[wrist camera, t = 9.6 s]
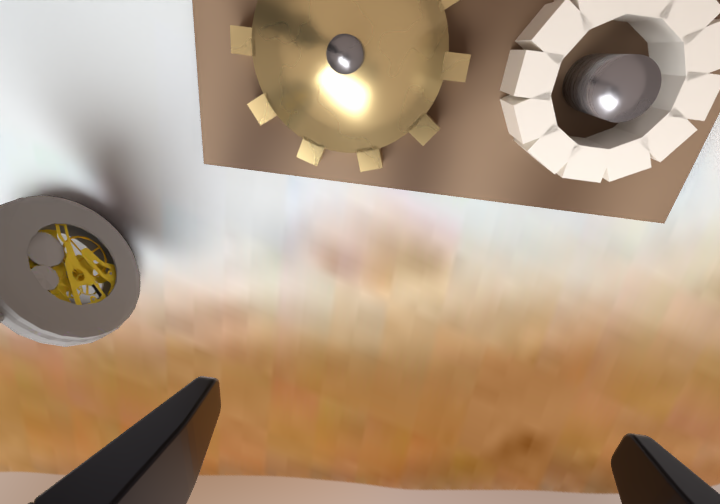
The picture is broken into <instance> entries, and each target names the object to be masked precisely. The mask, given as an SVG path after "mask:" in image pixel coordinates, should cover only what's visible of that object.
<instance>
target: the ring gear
mask: <svg viewBox="0 0 720 504" xmlns="http://www.w3.org/2000/svg"><path fill="white" fill-rule="evenodd" d="M719 14H720V4H719V3H718V2H717V0H554V2H551V3H548V4H545V5H544V6H543V7H542V9H541V10H540V11H539V12H538V13H537V15H536V16H535V17H534V18H533V19H532V21H531V22H530V23H529V24H528V26H527V27H526V28H525V29H524V30H523V32H522V33H521V34H520V35H519V36H518V38H517V39H516V40H515V42H517V43H518V44H519V45H520V46H521V47H522V48H523V49H524V50H510V53H509V57H508V61H507V64H506V68H505V72H504V76H503V80H502V84H501V88H500V91H502V92H505V93H507V94H510V95H508V96H506V97H503V98H501V99H500V102H501V106H502V109H503V113H504V117H505V121H506V124H507V128H508V132H509V134H510V135H512V136H513V137H514V139H513V140H514V141H515V142H516V143H517V144H518V145H520V146H521V147H522V148H523V149H524V150H525V151H527V152H528V153H529V154H530V155H531V156H532V157H533V158H535V159H536V160H537V161H538V162H539V163H541V164H542V165H543V166H545V167H546V168H547V169H548V170H550V171H551V172H552V173H553V174H556V173H557V174H558V175H559V176H561V177H562V178H568V179H575V180H583V181H590V182H598V183H601V180H602V178H604V179H606V180H607V181H609V182H610V181H613V180H616V179H619V178H622V177H625V176H628V175H631V174H634V173H637V172H640V171H643V170H646V169H648V168H651V159H650V158H652V159H654V160H656V161H659V162H661V161H662V160H664V159H665V158H666V157H667V156H668V155H669V154H670V153H672V152H673V151H674V150H675V149H676V148H677V147H678V146H680V145H681V144H682V143H683V142H684V141H685V140H686V139H688V138H689V137H690V136H691V135H692V134H693V133H694V132H696V131H697V129H696V128H695V127H694V126H693V125H692V124H691V123H690V122H689V121H688V120H687V119H692V120H700V121H705V119H706V117H707V115H708V113H709V111H710V109H711V107H712V105H713V102H714V100H715V98H716V96H717V94H718V92H719V90H720V75H717V74H709V73H710V72H713V71H716V70H718V69H720V19H714V18H715V17H716V16H718V15H719ZM713 19H714V20H713ZM611 20H616V21H624V22H628V23H629V24H630V25H631V26H632V27H633V28H634V29H635V30H636V31H637V32H638V33H639V34H640V35H641V36H642V37H643V38H644V40H645V41H646V42H647V43H648V52H649V57H650V58H651V59H653V60H654V61H655V62H656V63H657V65H658V67H659V69H660V71H661V79H662V80H661V87H660V91H659V93H658V95H657V98H656V99H655V101H654V102H653V104H652V105H651V106H650V107H649V108H648V109H647V110H646V111H645V112H644V113H643V114H641V115H640V116H638V117H636V118H634V119H632V120H629V121H626V122H619V123H618V124H617V125H616V126H615V127H613V128H610V129H608V130H605V131H602V132H600V133H597V134H594V135H592V136H589V137H586V138H581V137H574V136H568V135H567V134H566V133H564V132H563V131H562V130H561V129H560V128H559V127H558V126H557V122H556V117H555V113H554V108H553V103H552V99H551V93H552V90H553V87H554V84H555V81H556V77H557V74H558V71H559V68H560V65H561V62H562V60H563V58H564V57H565V56H566V55H567V54H568V53H569V52H570V51H571V50H572V48H573V47H574V46H575V45H576V44H577V43H578V42H579V41H580V40H581V38H582V37H583V36H584V35H585V34H586V33H587V32H588V31H589V30H590V29H592V28H594V27H597V26H599V25H601V24H604V23H606V22H608V21H611Z"/></svg>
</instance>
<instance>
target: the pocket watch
mask: <svg viewBox="0 0 720 504" xmlns="http://www.w3.org/2000/svg"><path fill="white" fill-rule="evenodd" d="M139 293H140V274H139V270H138V267H137V263H136V260H135V257H134V254H133V252H132V251H131V249H130V247H129V245H128V244H127V242H126V241H125V239H124V238H123V237H122V235H121V234H120V233H119V232H118V231H117V230H116V229H115V228H114V227H113V226H112V225H111V224H110V223H109V222H108V221H107V220H106V219H104V218H103V217H102V216H100V215H99V214H98V213H96V212H95V211H93V210H91V209H89V208H87V207H85V206H83V205H81V204H79V203H77V202H74V201H71V200H68V199H64V198H59V197H52V196H45V195H44V196H31V197H25V198H19V199H16V200H14V201H11V202H8V203H5V204H2V205H0V323H3V324H4V325H5V326H7V327H8V328H10V329H11V330H12V331H14V332H15V333H17V334H19V335H21V336H24V337H26V338H29V339H31V340H34V341H37V342H39V343H44V344H51V345H57V346H64V347H68V346H74V345H80V344H87V343H92V342H94V341H96V340H98V339H100V338H102V337H104V336H106V335H108V334H109V333H111V332H113V331H115V330H116V329H118V328H119V327H120V326H121V325H122V324H123V322H124V321H125V320H126V319H128V318H129V317H130V315H131V313H132V312H133V310H134V309H135V307H136V304H137V301H138V298H139Z"/></svg>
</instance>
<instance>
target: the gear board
mask: <svg viewBox="0 0 720 504" xmlns="http://www.w3.org/2000/svg"><path fill="white" fill-rule="evenodd" d="M257 2H258V0H192V3H193V17H194V31H195V45H196V59H197V73H198V87H199V101H200V115H201V129H202V143H203V157H204V164H209V165H217V166H225V167H233V168H240V169H248V170H256V171H263V172H271V173H279V174H287V175H294V176H302V177H310V178H317V179H325V180H333V181H341V182H348V183H356V184H364V185H371V186H379V187H387V188H395V189H402V190H410V191H418V192H425V193H433V194H441V195H449V196H456V197H464V198H472V199H479V200H487V201H495V202H503V203H510V204H518V205H526V206H534V207H541V208H549V209H557V210H564V211H572V212H580V213H588V214H595V215H603V216H611V217H618V218H626V219H634V220H642V221H649V222H657V223H665V221H666V219H667V217H668V215H669V213H670V211H671V209H672V207H673V205H674V203H675V201H676V199H677V197H678V195H679V193H680V191H681V189H682V187H683V185H684V183H685V181H686V179H687V177H688V175H689V173H690V171H691V169H692V167H693V165H694V163H695V161H696V159H697V157H698V155H699V153H700V151H701V149H702V147H703V145H704V143H705V141H706V139H707V137H708V135H709V133H710V131H711V129H712V127H713V125H714V123H715V121H716V119H717V117H718V115H719V113H720V90H719V92H718V94H717V96H716V98H715V100H714V102H713V105H712V107H711V109H710V111H709V113H708V115H707V117H706V119H705V121H700V120H692V119H687V120H688V121H689V122H690V123H691V124H692V125H693V126H694V127H695V128H696V129H697V131H696V132H694V133H693V134H692V135H691V136H690V137H689V138H688V139H686V140H685V141H684V142H683V143H682V144H681V145H680V146H678V147H677V148H676V149H675V150H674V151H673V152H672V153H670V154H669V155H668V156H667V157H666V158H665V159H664V160H662V161H661V162H659V161H656V160H654V159H652V158H650V159H651V168H648V169H646V170H643V171H640V172H637V173H634V174H631V175H628V176H625V177H622V178H619V179H616V180H613V181H610V182H609V181H607V180H606V179H604V178H602V180H601V183H598V182H590V181H583V180H575V179H568V178H562V177H561V176H559V175H558V174H557V173H556V174H553V173H552V172H551V171H550V170H548V169H547V168H546V167H545V166H543V165H542V164H541V163H539V162H538V161H537V160H536V159H535V158H533V157H532V156H531V155H530V154H529V153H528V152H527V151H525V150H524V149H523V148H522V147H521V146H520V145H518V144H517V143H516V142H515V141H514V140H513V139H514V137H513V136H512V135H510V134H509V132H508V128H507V124H506V121H505V117H504V113H503V109H502V106H501V102H500V99H501V98H503V97H506V96H508V95H510V94H507V93H505V92H502V91H500V88H501V84H502V80H503V76H504V72H505V68H506V64H507V61H508V57H509V53H510V50H524V49H523V48H522V47H521V46H520V45H519V44H518V43H517V42H515V40H516V39H517V38H518V36H519V35H520V34H521V33H522V32H523V30H524V29H525V28H526V27H527V26H528V24H529V23H530V22H531V21H532V19H533V18H534V17H535V16H536V15H537V13H538V12H539V11H540V10H541V9H542V7H543V6H544V5H545V4H548V3H551V2H554V0H460V1H458V2H457V3H455V4H453V5H452V6H450V7H449V8H447V9H445V14H446V18H447V24H448V33H449V52H454V53H462V54H470V55H471V57H470V62H469V67H468V71H467V76H466V81H465V82H457V81H449V80H443V82H442V85H441V88H440V90H439V93H438V95H437V97H436V99H435V100H434V102H433V104H432V106H431V107H430V109H429V110H428V112H427V114H428V115H429V116H430V117H431V118H432V119H433V120H434V121H435V122H436V123H437V124H438V125H439V127H440V130H439V131H438V132H437V133H436V134H435V135H434V136H433V137H432V138H431V139H430V140H429V141H428V142H427V143H426V144H425V145H424V146H422V145H421V144H420V143H419V142H418V141H417V140H416V139H415V138H414V137H413V136H412V135H411V134H410V133H409V132H408V133H407V134H406V135H404V136H403V137H401V138H400V139H398V140H397V141H395V142H393V143H391V144H389V145H387V146H384V147H382V148H381V152H382V158H383V168H379V169H374V170H369V171H363V172H360V167H359V162H358V158H357V153H343V152H336V151H331V150H327V149H325V152H324V154H323V157H322V159H321V161H320V162H319V164H318V166H315V165H313V164H311V163H309V162H306V161H304V160H302V159H300V158H298V157H296V156H297V153H298V151H299V148H300V145H301V143H302V140H303V138H301V137H300V136H298V135H297V134H295V133H294V132H293V131H292V130H291V129H289V128H288V127H287V126H286V125H285V124H284V123H283V122H282V121H281V120H280V118H279V117H278V116H276V117H274V118H273V119H271V120H269V121H268V122H266V123H264V124H263V125H260V124H259V122H258V121H257V119H256V117H255V116H254V114H253V113H252V111H251V110H250V108H249V107H248V105H247V104H248V103H250V102H251V101H253V100H254V99H256V98H257V97H259V96H260V95H262V94H263V91H262V89H261V87H260V85H259V82H258V79H257V75H256V72H255V68H254V63H253V57H252V56H248V55H240V54H232V53H231V37H230V25H234V26H243V27H251V28H252V24H253V18H254V12H255V9H256V5H257ZM717 2H718V3H719V4H720V0H717ZM714 19H720V14H719V15H718V16H716V17H715V18H714ZM714 19H713V20H714ZM595 53H607V54H641V55H645V56H648V57H649V52H648V43H647V42H646V41H645V40H644V38H643V37H642V36H641V35H640V34H639V33H638V32H637V31H636V30H635V29H634V28H633V27H632V26H631V25H630V24H629V23H628V22H624V21H616V20H611V21H608V22H606V23H604V24H601V25H599V26H597V27H594V28H592V29H590V30H589V31H588V32H587V33H586V34H585V35H584V36H583V37H582V38H581V40H580V41H579V42H578V43H577V44H576V45H575V46H574V47H573V48H572V50H571V51H570V52H569V53H568V54H567V55H566V56H565V57H564V58H563V60H562V62H561V65H560V68H559V71H558V74H557V77H556V81H555V84H554V87H553V90H552V93H551V99H552V103H553V108H554V113H555V117H556V122H557V126H558V127H559V128H560V129H561V130H562V131H563V132H564V133H566V134H567V135H568V136H574V137H581V138H586V137H589V136H592V135H594V134H597V133H600V132H602V131H605V130H608V129H610V128H613V127H615V126H616V125H617V124H618V123H617V122H610V121H607V120H604V119H601V118H598V117H595V116H592V115H589V114H586V113H583V112H580V111H577V110H575V109H573V108H571V107H570V106H569V105H568V104H567V103H566V101H565V100H564V97H563V93H562V86H563V81H564V78H565V76H566V74H567V72H568V70H569V69H570V68H571V66H572V65H573V64H574V63H575V62H577V61H578V60H579V59H581V58H582V57H584V56H587V55H589V54H595ZM709 74H717V75H720V69H718V70H716V71H713V72H710V73H709Z"/></svg>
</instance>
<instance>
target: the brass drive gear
mask: <svg viewBox="0 0 720 504" xmlns="http://www.w3.org/2000/svg"><path fill="white" fill-rule="evenodd" d="M458 1H460V0H258V2H257V5H256V9H255V12H254V18H253V24H252V28H251V27H243V26H234V25H230V37H231V53H232V54H240V55H248V56H252V57H253V63H254V68H255V72H256V75H257V79H258V82H259V85H260V87H261V89H262V91H263V94H262V95H260V96H259V97H257V98H256V99H254V100H253V101H251V102H250V103H248V104H247V105H248V107H249V108H250V110H251V111H252V113H253V114H254V116H255V117H256V119H257V121H258V122H259V124H260V125H263V124H264V123H266V122H268V121H269V120H271V119H273V118H274V117H276V116H278V117H279V118H280V120H281V121H282V122H283V123H284V124H285V125H286V126H287V127H288V128H289V129H291V130H292V131H293V132H294V133H295V134H297V135H298V136H300V137H301V138H303V140H302V143H301V145H300V148H299V151H298V153H297V156H296V157H298V158H300V159H302V160H304V161H306V162H309V163H311V164H313V165H315V166H318V164H319V162H320V161H321V159H322V157H323V154H324V152H325V149H327V150H331V151H336V152H343V153H357V158H358V162H359V167H360V172H363V171H369V170H374V169H379V168H383V158H382V152H381V148H382V147H384V146H387V145H389V144H391V143H393V142H395V141H397V140H398V139H400V138H401V137H403V136H404V135H406V134H407V133H408V132H409V133H410V134H411V135H412V136H413V137H414V138H415V139H416V140H417V141H418V142H419V143H420V144H421V145H422V146H424V145H425V144H426V143H427V142H428V141H429V140H430V139H431V138H432V137H433V136H434V135H435V134H436V133H437V132H438V131H439V130H440V127H439V125H438V124H437V123H436V122H435V121H434V120H433V119H432V118H431V117H430V116H429V115H428V114H427V112H428V110H429V109H430V107H431V106H432V104H433V102H434V100H435V99H436V97H437V95H438V93H439V90H440V88H441V85H442V82H443V80H449V81H457V82H465V81H466V76H467V71H468V67H469V62H470V57H471V55H470V54H462V53H454V52H449V33H448V24H447V18H446V14H445V9H447V8H449V7H450V6H452V5H453V4H455V3H457V2H458Z"/></svg>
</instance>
